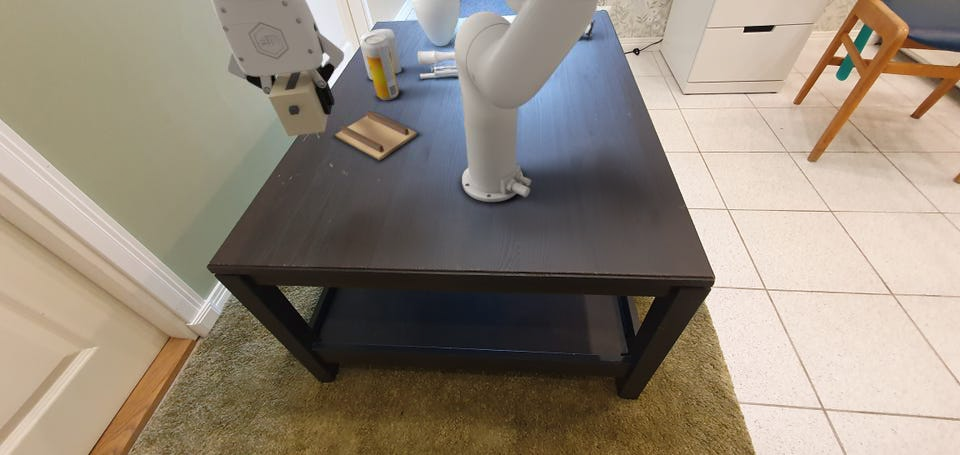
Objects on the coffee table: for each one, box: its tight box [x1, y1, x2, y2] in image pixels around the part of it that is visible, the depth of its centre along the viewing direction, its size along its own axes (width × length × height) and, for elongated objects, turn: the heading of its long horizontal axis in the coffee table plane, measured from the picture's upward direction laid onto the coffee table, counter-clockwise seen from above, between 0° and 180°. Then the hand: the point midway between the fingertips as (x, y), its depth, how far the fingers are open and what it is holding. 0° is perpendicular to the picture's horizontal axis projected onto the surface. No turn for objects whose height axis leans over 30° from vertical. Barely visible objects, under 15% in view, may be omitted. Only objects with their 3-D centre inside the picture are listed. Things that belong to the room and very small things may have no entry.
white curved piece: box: [359, 28, 402, 81], centre depth 107 cm, size 10×4×12 cm, turn 123°
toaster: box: [268, 71, 329, 137], centre depth 52 cm, size 5×10×6 cm, turn 9°
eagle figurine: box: [583, 19, 596, 40], centre depth 120 cm, size 8×7×9 cm
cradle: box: [334, 110, 418, 161], centre depth 89 cm, size 12×16×2 cm
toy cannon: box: [417, 49, 458, 80], centre depth 108 cm, size 8×14×5 cm
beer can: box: [364, 35, 400, 101], centre depth 97 cm, size 6×6×15 cm
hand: (308, 111), depth 54 cm, fingers closed on toaster, 5 cm apart
